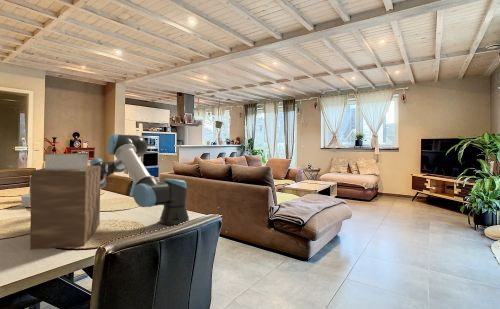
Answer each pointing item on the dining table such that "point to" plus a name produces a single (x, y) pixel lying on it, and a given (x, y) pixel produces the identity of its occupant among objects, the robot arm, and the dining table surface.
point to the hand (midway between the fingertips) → (92, 165)
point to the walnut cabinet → (64, 207)
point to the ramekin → (25, 200)
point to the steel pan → (66, 161)
